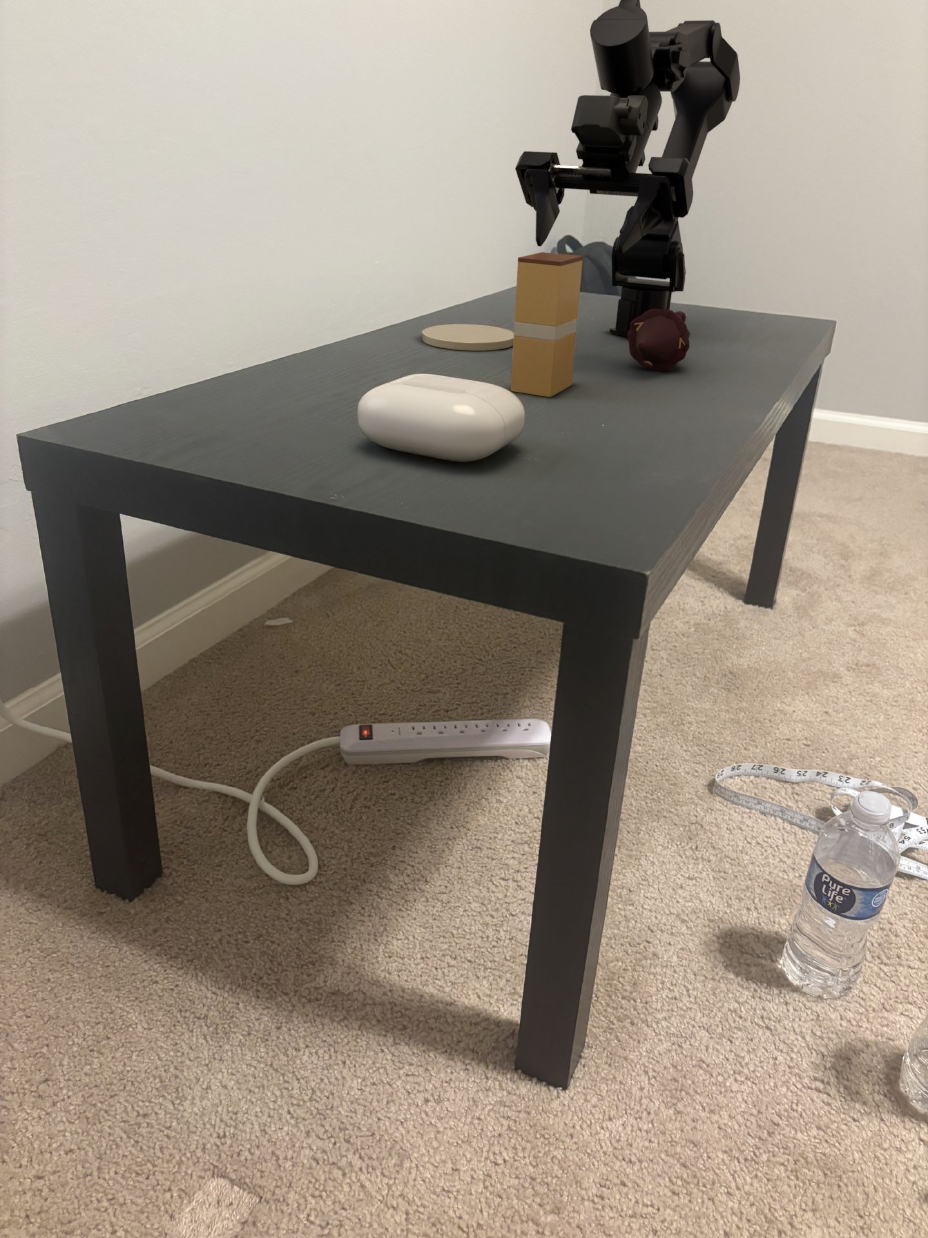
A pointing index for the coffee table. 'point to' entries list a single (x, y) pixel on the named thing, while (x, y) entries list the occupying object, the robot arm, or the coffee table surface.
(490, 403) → the earbud case
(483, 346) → the plate
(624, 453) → the coffee table surface
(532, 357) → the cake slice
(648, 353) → the maroon dungeon die
